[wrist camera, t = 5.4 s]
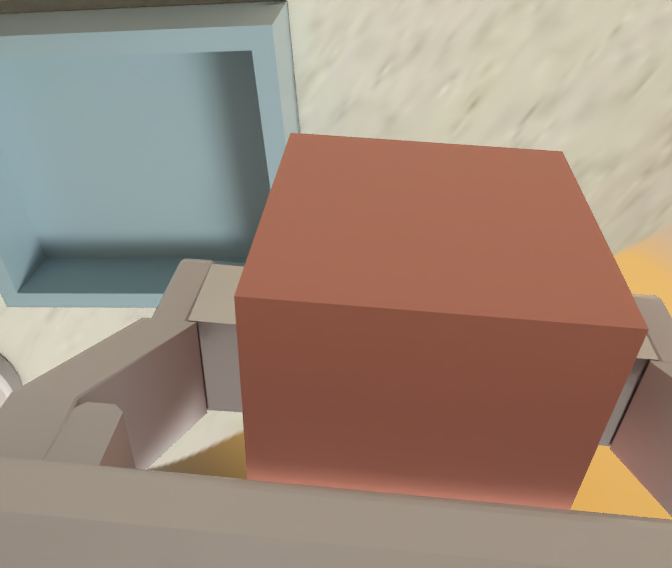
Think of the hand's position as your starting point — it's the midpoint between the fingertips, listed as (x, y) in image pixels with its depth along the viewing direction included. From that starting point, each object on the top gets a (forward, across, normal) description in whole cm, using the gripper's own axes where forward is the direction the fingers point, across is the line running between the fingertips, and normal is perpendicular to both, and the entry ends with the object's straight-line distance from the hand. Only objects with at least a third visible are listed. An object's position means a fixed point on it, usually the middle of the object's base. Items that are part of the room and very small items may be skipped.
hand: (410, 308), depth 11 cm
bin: (+17, +11, +6) cm, 21 cm away
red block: (+2, 0, 0) cm, 2 cm away
